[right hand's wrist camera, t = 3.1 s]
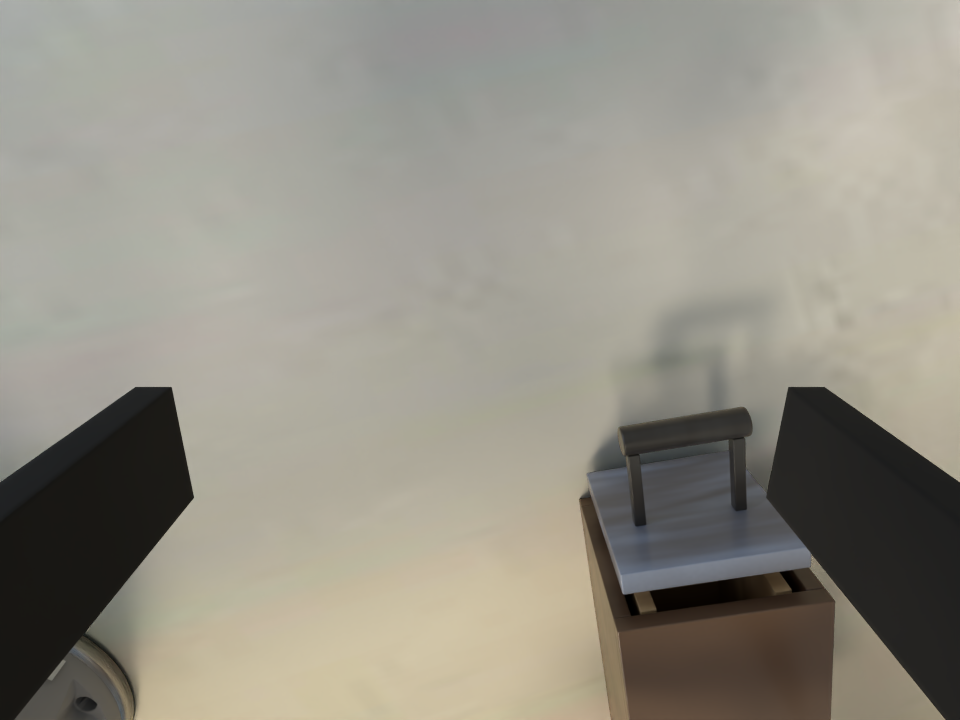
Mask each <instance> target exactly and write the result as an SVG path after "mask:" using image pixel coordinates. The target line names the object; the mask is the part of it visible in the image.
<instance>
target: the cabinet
mask: <svg viewBox="0 0 960 720" xmlns="http://www.w3.org/2000/svg"><path fill="white" fill-rule="evenodd" d="M579 502H580V509H581V516H582V523H583V530H584V536H585V543H586V550H587V557H588V564H589V571H590V578H591V584H592V591H593V598H594V605H595V612H596V619H597V626H598V633H599V639H600V646H601V653H602V660H603V667H604V674H605V681H606V688H607V694H608V701H609V708H610V715H611V720H831V696H832V669H833V642H834V615H835V601H834V599H833V598H832V597H831V595H830V594H829V593H828V591H827V590H826V589H825V588H824V586H823V585H822V584H821V583H820V581H819V580H818V579H817V577H816V576H815V575H814V574H813V572H812V571H811V570H810V569H809V567H808V568H802V569H795V570H788V571H781V572H779V573H780V574H781V575H782V577H783V578H784V580H785V581H786V582H787V584H788V585H789V587H790V588H791V590H792V593H788V594H781V595H774V596H767V597H760V598H754V599H747V600H740V601H733V602H726V603H719V604H712V605H705V606H698V607H691V608H684V609H677V610H670V611H663V612H657V613H650V614H643V615H636V616H631V614H630V611H629V608H628V605H627V602H626V599H625V596H624V594H623V593H622V590H621V587H620V584H619V581H618V578H617V575H616V572H615V569H614V566H613V562H612V559H611V556H610V553H609V550H608V547H607V544H606V541H605V538H604V535H603V532H602V528H601V525H600V522H599V519H598V516H597V513H596V510H595V507H594V504H593V501H592V498H591V497H589V498H583V499H579Z"/></svg>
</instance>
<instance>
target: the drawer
mask: <svg viewBox="0 0 960 720" xmlns="http://www.w3.org/2000/svg"><path fill="white" fill-rule="evenodd" d="M751 434H752V421H751V417H750V415H749V413H748V411H747V409H746V408H744V407H738V408H732V409H726V410H719V411H713V412H707V413H701V414H695V415H689V416H683V417H677V418H671V419H665V420H658V421H652V422H646V423H640V424H634V425H628V426H622V427H619V428H618V440H619V445H620V449H621V452H622V454H623V455H624V456H626V464H627V467H622V468H615V469H609V470H603V471H597V472H590V473H587V480H588V487H589V491H590V494H591V498H592V501H593V504H594V507H595V510H596V513H597V516H598V519H599V522H600V525H601V528H602V532H603V535H604V538H605V541H606V544H607V547H608V550H609V553H610V556H611V559H612V562H613V566H614V569H615V572H616V575H617V578H618V581H619V584H620V587H621V590H622V593H623V594H624V596H625V599H626V602H627V605H628V608H629V611H630V614H631V616H636V615H643V614H650V613H657V612H663V611H670V610H677V609H684V608H691V607H698V606H705V605H712V604H719V603H726V602H733V601H740V600H747V599H754V598H760V597H767V596H774V595H781V594H788V593H792V590H791V588H790V587H789V585H788V584H787V582H786V581H785V580H784V578H783V577H782V575H781V574H780V573H779V572H781V571H788V570H795V569H802V568H808V567H811V553H810V551H809V550H808V549H807V548H806V546H805V545H804V544H803V543H802V542H801V540H800V539H799V538H798V537H797V535H796V534H795V533H794V532H793V530H792V529H791V528H790V527H789V525H788V524H787V523H786V522H785V521H784V519H783V518H782V517H781V516H780V514H779V513H778V512H777V511H776V509H775V508H774V507H773V506H772V504H771V503H770V502H769V501H768V500H767V498H766V495H767V493H766V492H765V490H764V489H763V488H762V487H761V486H760V484H759V483H758V482H757V481H756V480H755V478H754V477H753V476H752V475H751V474H750V472H749V471H748V470H747V469H746V457H745V438H744V437H748V436H750V435H751ZM723 440H729V450H728V451H722V452H715V453H709V454H703V455H697V456H690V457H684V458H678V459H672V460H665V461H659V462H653V463H647V464H641V463H640V455H639V454H642V453H648V452H655V451H661V450H667V449H673V448H679V447H686V446H692V445H698V444H704V443H711V442H717V441H723Z"/></svg>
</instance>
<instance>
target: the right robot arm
mask: <svg viewBox="0 0 960 720" xmlns="http://www.w3.org/2000/svg"><path fill="white" fill-rule="evenodd" d="M193 498H194V495H193V491H192V486H191V481H190V476H189V471H188V466H187V461H186V456H185V451H184V446H183V441H182V436H181V431H180V426H179V421H178V417H177V412H176V407H175V402H174V397H173V392H172V387H135V388H134V389H132V390H131V391H129V392H128V393H126V394H125V395H124V396H122V397H121V398H119V399H118V400H117V401H115V402H114V403H112V404H111V405H109V406H108V407H107V408H105V409H104V410H102V411H101V412H100V413H98V414H97V415H95V416H94V417H92V418H91V419H90V420H88V421H87V422H85V423H84V424H83V425H81V426H80V427H78V428H77V429H75V430H74V431H73V432H71V433H70V434H68V435H67V436H65V437H64V438H63V439H61V440H60V441H58V442H57V443H56V444H54V445H53V446H51V447H50V448H48V449H47V450H46V451H44V452H43V453H41V454H40V455H39V456H37V457H36V458H34V459H33V460H31V461H30V462H29V463H27V464H26V465H24V466H23V467H22V468H20V469H19V470H17V471H16V472H14V473H13V474H12V475H10V476H9V477H7V478H6V479H4V480H3V481H2V482H0V720H133V715H134V702H133V696H132V692H131V689H130V686H129V684H128V682H127V680H126V678H125V676H124V675H123V673H122V671H121V670H120V668H119V667H118V666H117V665H116V663H115V662H114V661H113V660H112V659H111V658H110V657H109V656H108V655H107V654H106V653H105V652H104V651H103V650H102V649H101V648H100V647H98V646H97V645H96V644H94V643H93V642H92V641H90V640H89V639H87V638H86V637H84V636H83V634H84V633H85V632H86V631H87V629H88V628H89V627H90V626H91V624H92V623H93V622H94V621H95V619H96V618H97V617H98V616H99V614H100V613H101V612H102V611H103V610H104V608H105V607H106V606H107V605H108V603H109V602H110V601H111V600H112V598H113V597H114V596H115V595H116V593H117V592H118V591H119V590H120V589H121V587H122V586H123V585H124V584H125V582H126V581H127V580H128V579H129V577H130V576H131V575H132V574H133V572H134V571H135V570H136V569H137V567H138V566H139V565H140V564H141V563H142V561H143V560H144V559H145V558H146V556H147V555H148V554H149V553H150V551H151V550H152V549H153V548H154V546H155V545H156V544H157V543H158V542H159V540H160V539H161V538H162V537H163V535H164V534H165V533H166V532H167V530H168V529H169V528H170V527H171V525H172V524H173V523H174V522H175V521H176V519H177V518H178V517H179V516H180V514H181V513H182V512H183V511H184V509H185V508H186V507H187V506H188V504H189V503H190V502H191V501H192V500H193ZM766 498H767V500H768V501H769V502H770V503H771V504H772V506H773V507H774V508H775V509H776V511H777V512H778V513H779V514H780V516H781V517H782V518H783V519H784V521H785V522H786V523H787V524H788V525H789V527H790V528H791V529H792V530H793V532H794V533H795V534H796V535H797V537H798V538H799V539H800V540H801V542H802V543H803V544H804V545H805V546H806V548H807V549H808V550H809V551H810V553H811V554H812V555H813V556H814V558H815V559H816V560H817V561H818V563H819V564H820V565H821V566H822V567H823V569H824V570H825V571H826V572H827V574H828V575H829V576H830V577H831V579H832V580H833V581H834V582H835V584H836V585H837V586H838V587H839V589H840V590H841V591H842V592H843V593H844V595H845V596H846V597H847V598H848V600H849V601H850V602H851V603H852V605H853V606H854V607H855V608H856V610H857V611H858V612H859V613H860V614H861V616H862V617H863V618H864V619H865V621H866V622H867V623H868V624H869V626H870V627H871V628H872V629H873V631H874V632H875V633H876V634H877V635H878V637H879V638H880V639H881V640H882V642H883V643H884V644H885V645H886V647H887V648H888V649H889V650H890V652H891V653H892V654H893V655H894V656H895V658H896V659H897V660H898V661H899V663H900V664H901V665H902V666H903V668H904V669H905V670H906V671H907V673H908V674H909V675H910V676H911V677H912V679H913V680H914V681H915V682H916V684H917V685H918V686H919V687H920V689H921V690H922V691H923V692H924V694H925V695H926V696H927V697H928V698H929V700H930V701H931V702H932V703H933V705H934V706H935V707H936V708H937V710H938V711H939V712H940V713H941V715H942V716H943V717H944V718H945V719H946V720H960V482H958V481H957V480H956V479H954V478H953V477H951V476H950V475H948V474H947V473H946V472H944V471H943V470H941V469H940V468H938V467H937V466H936V465H934V464H933V463H931V462H930V461H929V460H927V459H926V458H924V457H923V456H921V455H920V454H919V453H917V452H916V451H914V450H913V449H912V448H910V447H909V446H907V445H906V444H904V443H903V442H902V441H900V440H899V439H897V438H896V437H895V436H893V435H892V434H890V433H889V432H887V431H886V430H885V429H883V428H882V427H880V426H879V425H877V424H876V423H875V422H873V421H872V420H870V419H869V418H868V417H866V416H865V415H863V414H862V413H860V412H859V411H858V410H856V409H855V408H853V407H852V406H851V405H849V404H848V403H846V402H845V401H843V400H842V399H841V398H839V397H838V396H836V395H835V394H834V393H832V392H831V391H829V390H828V389H826V388H825V387H788V392H787V397H786V402H785V407H784V412H783V417H782V421H781V426H780V431H779V436H778V441H777V446H776V451H775V456H774V461H773V466H772V471H771V476H770V481H769V486H768V491H767V495H766Z"/></svg>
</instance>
